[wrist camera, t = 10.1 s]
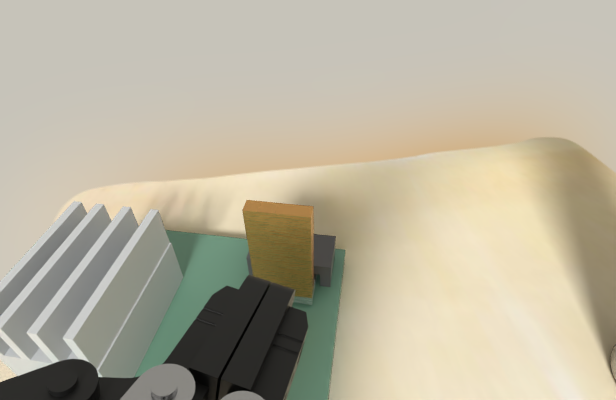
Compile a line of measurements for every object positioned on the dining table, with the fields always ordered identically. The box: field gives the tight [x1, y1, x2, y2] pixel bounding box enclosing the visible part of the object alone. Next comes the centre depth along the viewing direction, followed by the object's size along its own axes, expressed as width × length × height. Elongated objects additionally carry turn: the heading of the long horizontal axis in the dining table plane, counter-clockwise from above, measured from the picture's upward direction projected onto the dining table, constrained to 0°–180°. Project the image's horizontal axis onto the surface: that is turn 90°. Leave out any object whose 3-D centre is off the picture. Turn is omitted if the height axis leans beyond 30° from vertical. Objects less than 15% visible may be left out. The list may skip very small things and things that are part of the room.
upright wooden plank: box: [242, 200, 317, 305], centre depth 35 cm, size 6×5×11 cm
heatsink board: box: [0, 201, 345, 400], centre depth 32 cm, size 24×24×11 cm
